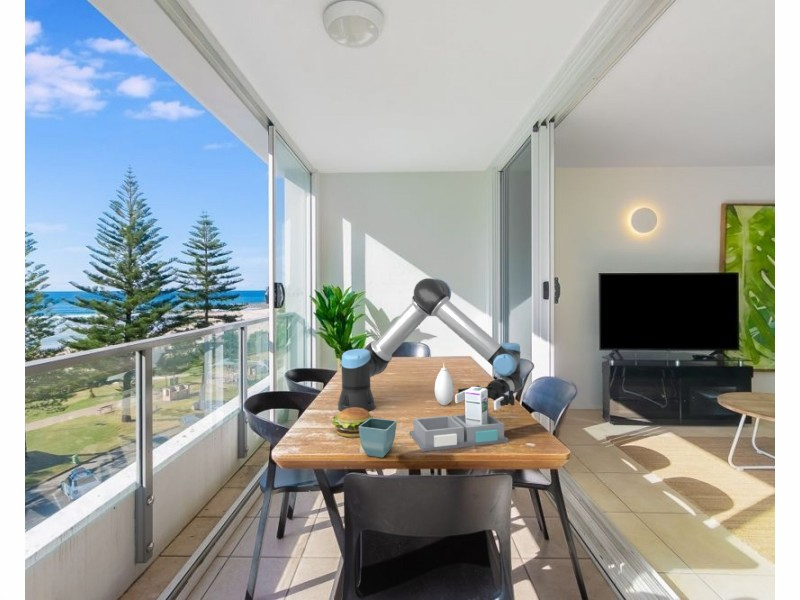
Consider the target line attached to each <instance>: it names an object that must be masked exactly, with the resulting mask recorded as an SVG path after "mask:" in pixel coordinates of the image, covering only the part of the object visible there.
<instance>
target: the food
mask: <svg viewBox="0 0 800 600" xmlns="http://www.w3.org/2000/svg"><path fill="white" fill-rule="evenodd" d="M370 418H374V416H373V415H371V414H370V411H367V410H365V409H363V408H358V407H352V408H347V409H344V410H342V411H340V412H339V413H338V414H337V415H334V416H333V419H332V420H331V424H332V425H333V426H334V428H335V431H336V433H337V435H338V436H341V437H344V438H360V433H359V426H360V425H361V424H363V423H364V422H366V421H367V420H368V419H370Z"/></svg>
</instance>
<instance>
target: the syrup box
mask: <svg viewBox="0 0 800 600" xmlns="http://www.w3.org/2000/svg"><path fill="white" fill-rule="evenodd" d="M470 387H471V388H470ZM470 387H468V388H469V389H467V390H465V400H464V409H465V411H464V412H465V413H464V414H465V418H466V424H467V425H468V426H475V425H486V424H488V414H489V401H488V399H489V398H488V390H487V388H482V387H483V386H480V387H475V386H470Z"/></svg>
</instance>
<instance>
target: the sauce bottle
mask: <svg viewBox="0 0 800 600" xmlns="http://www.w3.org/2000/svg"><path fill="white" fill-rule="evenodd" d="M454 388H455V387H454V381H453V378H452V376H451V374H450V372H449V371H448V368H446V367H445V364H443V366H442V368H440V371H439V373H438V374H437V376H436V379H435V383H434V397H435V399H436V401H437V403H439V404H440V406H443V407H446V406H447V405H449V403H452V400H453V398H454V396H455V393H454V392H455V389H454Z"/></svg>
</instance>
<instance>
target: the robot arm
mask: <svg viewBox="0 0 800 600" xmlns="http://www.w3.org/2000/svg"><path fill="white" fill-rule="evenodd" d="M451 297H452V291H451V288H450V285H449V284H448V283H447V282H446V281H445V280H443V279H441V278H429V277H428V278H427V277H426V278H424V279H421V280H419V281H418V282H417V283H416V284H415V286H414V289H413V296H412V297H411V299H412V300H411V304H409V306H408V307H406V309H405V310H404V311H403V312H402V313H401V314H400V316H398V317H397V318H396V320H395V321H394V322H393V323H392V324H391V325H390V327H388V329H387V330H386V331H385V332H384V333H383V334H382V335H381V336H380V338H378V340H373V341H371V342H370V343H369V344H368V345H367V347H366V348H355V349H348V350H346V351H344V352H343V353H342V355H341V363H340V364H341V391H340V395H339V399H338V402H337V409H338V411H340V412H341V411H342V410H344V409H347V408H352V407H358V408H363V409H365V410H367V411H368V412H370V411H372V410H374V409H375V408H376V401H375V398H374V395H373V392H372V388H371V378H372V377H374V376H376V375H377V376H378V375H379V374H381V373H383V372H384V371H385V370H386V369H387V367H388V365H389V363H390V362H391V361H392V359H393V354H394V352H396V351H397V350H398V348H399V347H400V346H401V345H402V344H403V343H404V342H405V341H406V340H407V339H408V338H409V337H410V335H411V334H412V333H413V332H414V331H415V330H416V329H417V328H419V326H420V325H421V323H423V321H425V320H426V318H428V317H436V318H438V320H440V321H441V322H442V323H443V324H445V326H447V328H449V329H450V330H451V331H452V332H453V333H455V334H456V335H457V336H458V337H459V338H461V340H463V341H464V342H465V343H466V344H467V345H468V346H469V347H471V348H472V349H473V351H475V352H476V353H477V354H479V355H480V357H482V358H483V359H484V360H485V361H487V362H488V363H489V364H490V365H491V366H492V367H493V370H494V372H496V374H498V376H500V377H498V378H496V379H493V380H491V381H490V382H489V383H488V384H487V386H484V387H483V386H480V385H475V386H474V387H482V388H487V390H488V399H491V400H493V410H494V411H497V410H499V409H500V408H502V407H505V406H508V405H511V406H512V407H513V406H516V405H515V403H516V402H515V394H516V393H518V392H520V391H521V389H523V387H524V384H525V380H524V377H523V376H522V374H521V345H520V344H519V343H517V342H502V343H499V342H498V341H497V340H495V339H494V337H492V336H491V335H490V334H489V333H487V332H486V331H485V330H483V329H482V328H481V327H480V326H479V325H478V324H477V323H475V322H474V321H473V320H472V319H471V318H470V317H469V316H468V315H466V314H465V313H464V312H463V311H461V310H460V309H459V308H458V307H457V306H456V305H454V304H453V303H452V302H451V301H450V300H451ZM471 387H472V386H470V387H464V388H458V389H457V390H458V391H457V393H455V394H454V403H455V404H458V403H461V402H463V401H465V390H467V389H469V388H471Z"/></svg>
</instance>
